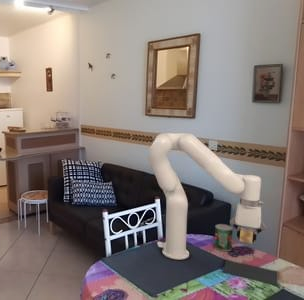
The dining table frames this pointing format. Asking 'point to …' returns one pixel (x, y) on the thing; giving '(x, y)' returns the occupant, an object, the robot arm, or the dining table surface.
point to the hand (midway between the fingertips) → (246, 239)
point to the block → (246, 235)
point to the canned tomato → (223, 237)
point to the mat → (250, 272)
